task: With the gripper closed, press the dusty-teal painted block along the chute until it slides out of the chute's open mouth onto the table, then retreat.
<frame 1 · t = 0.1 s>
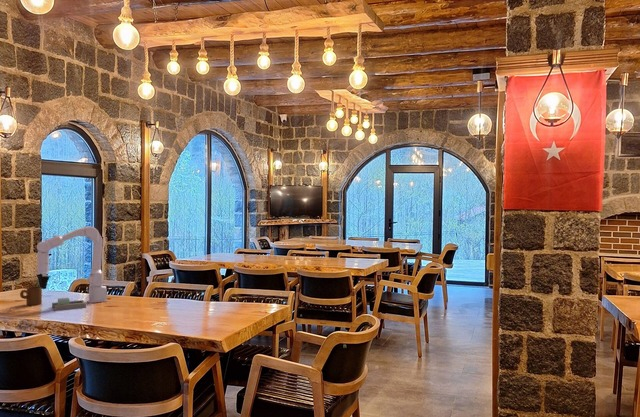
hand: (42, 287, 297), 10 cm above the table, fingers open, 7 cm apart
chute: (67, 307, 294), on the table
block: (63, 303, 293), point 2 cm above the table, slide at 0.0 cm
mug: (30, 305, 299), on the table
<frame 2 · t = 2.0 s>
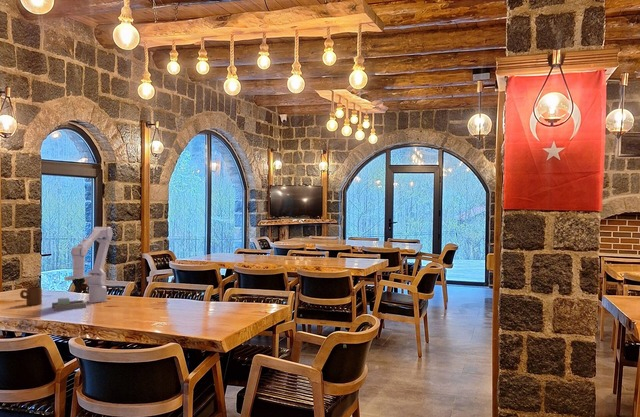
hand: (78, 292, 297), 8 cm above the table, fingers closed
nothing on the table moved.
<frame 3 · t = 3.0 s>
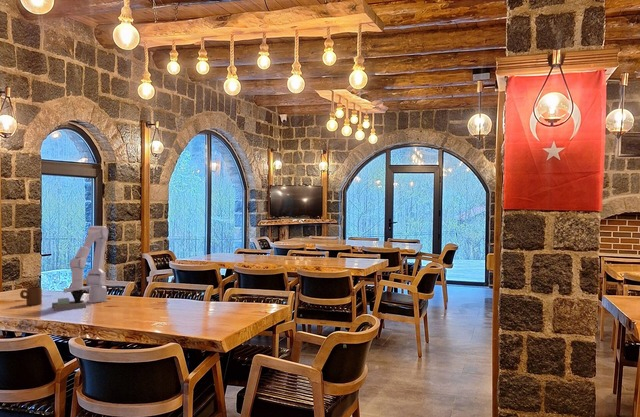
hand: (77, 304, 296), 1 cm above the table, fingers closed
nothing on the table moved.
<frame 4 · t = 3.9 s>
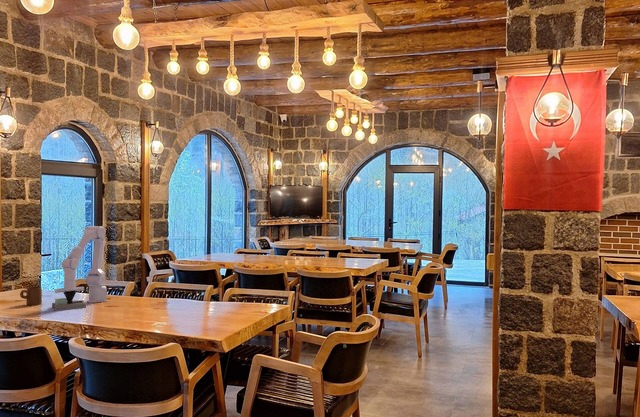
hand: (69, 304, 294), 1 cm above the table, fingers closed
block: (60, 303, 292), point 2 cm above the table, slide at 1.3 cm, touching gripper
everything else where it was.
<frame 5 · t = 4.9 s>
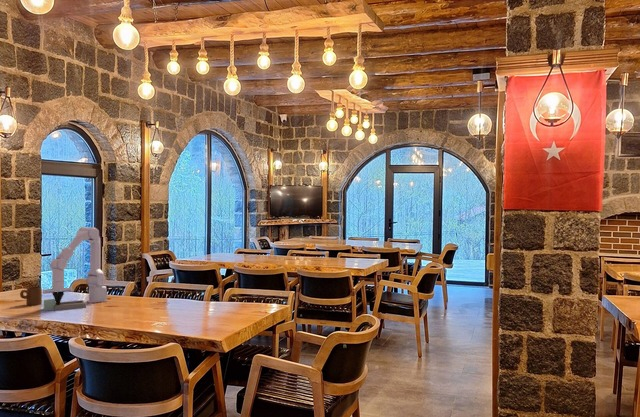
hand: (57, 305, 291), 1 cm above the table, fingers closed
block: (49, 304, 289), point 2 cm above the table, slide at 7.0 cm, touching gripper
everything else where it was.
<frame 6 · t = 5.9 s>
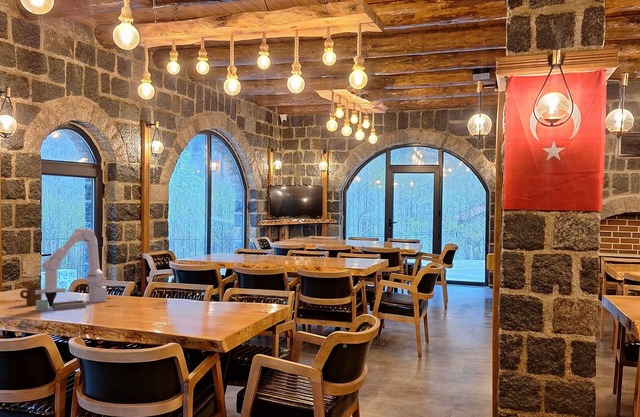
hand: (50, 306, 289), 1 cm above the table, fingers closed
block: (42, 305, 287), point 2 cm above the table, slide at 10.5 cm, touching gripper
everything else where it was.
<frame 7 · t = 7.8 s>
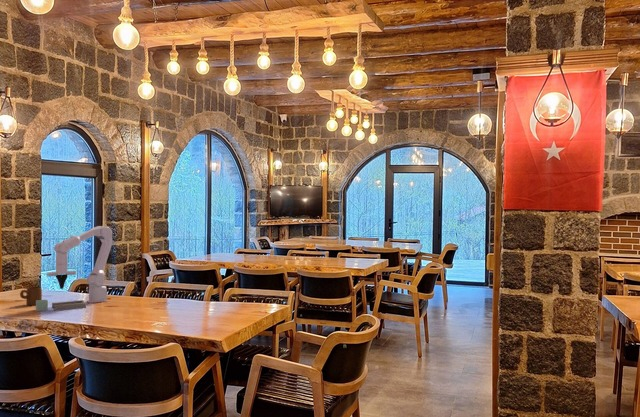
hand: (61, 288, 298), 10 cm above the table, fingers closed
block: (41, 305, 286), point 2 cm above the table, slide at 10.6 cm
everything else where it was.
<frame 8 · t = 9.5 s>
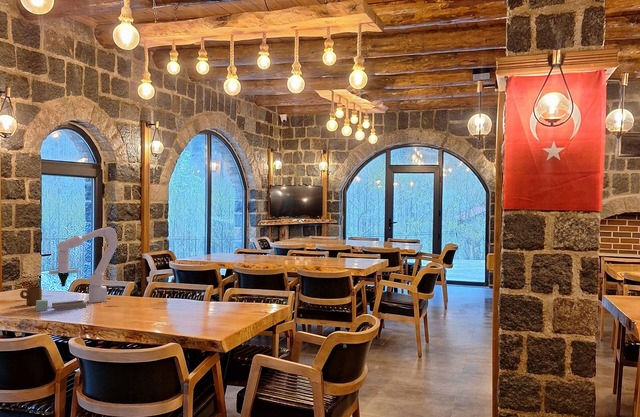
hand: (63, 286, 305), 10 cm above the table, fingers closed
nothing on the table moved.
at the end: block slide at 10.6 cm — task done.
